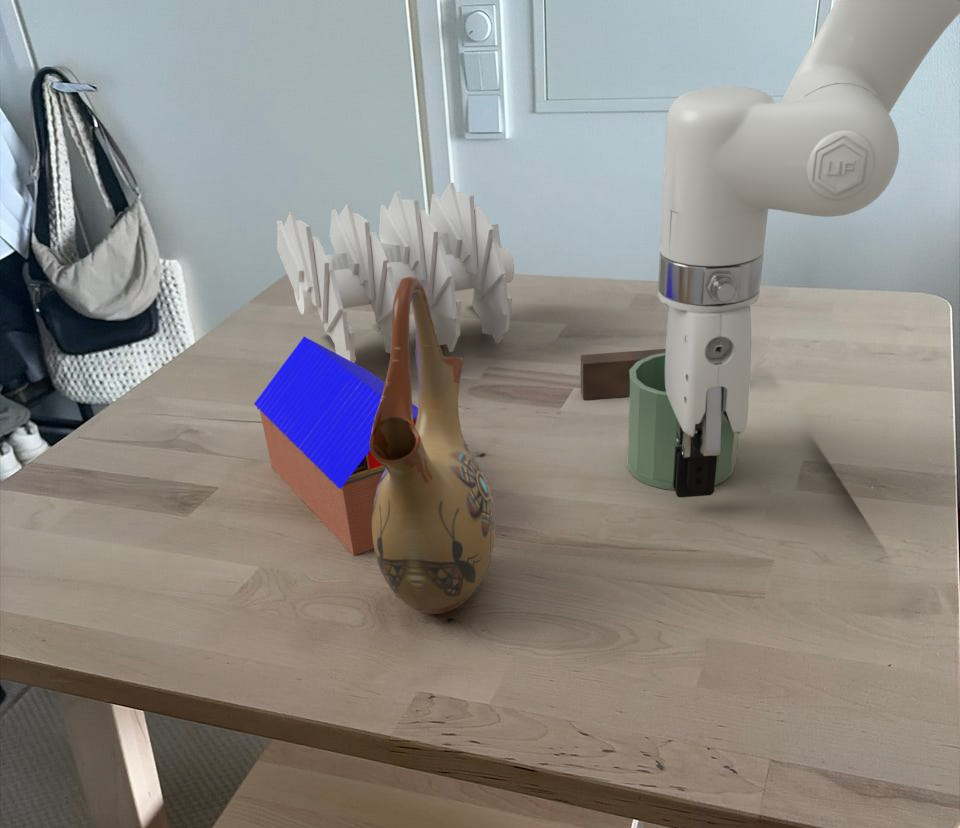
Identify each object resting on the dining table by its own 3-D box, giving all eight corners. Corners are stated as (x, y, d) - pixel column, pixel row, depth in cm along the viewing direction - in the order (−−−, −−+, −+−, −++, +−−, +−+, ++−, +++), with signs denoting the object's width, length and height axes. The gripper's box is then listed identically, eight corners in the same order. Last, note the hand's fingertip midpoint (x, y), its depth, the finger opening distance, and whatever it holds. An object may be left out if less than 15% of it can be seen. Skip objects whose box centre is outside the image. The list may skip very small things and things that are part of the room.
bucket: (727, 438, 99) (735, 348, 93) (741, 489, 91) (751, 394, 86) (625, 441, 100) (627, 352, 94) (629, 491, 92) (632, 398, 87)
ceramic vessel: (477, 664, 74) (448, 326, 59) (357, 656, 76) (298, 325, 61) (515, 542, 87) (499, 237, 71) (412, 537, 88) (374, 238, 73)
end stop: (711, 380, 110) (714, 344, 107) (716, 390, 108) (719, 353, 105) (580, 390, 110) (580, 354, 107) (583, 400, 108) (583, 363, 105)
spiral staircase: (522, 375, 124) (321, 413, 116) (469, 274, 131) (277, 303, 123) (556, 251, 108) (326, 285, 100) (493, 144, 115) (274, 168, 107)
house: (351, 558, 86) (330, 431, 79) (267, 467, 100) (242, 352, 93) (475, 514, 91) (465, 390, 84) (377, 433, 105) (362, 321, 98)
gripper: (787, 307, 71) (759, 534, 82) (735, 242, 83) (717, 448, 94) (679, 315, 71) (665, 541, 82) (642, 249, 83) (635, 454, 94)
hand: (693, 491), depth 88 cm, fingers closed
